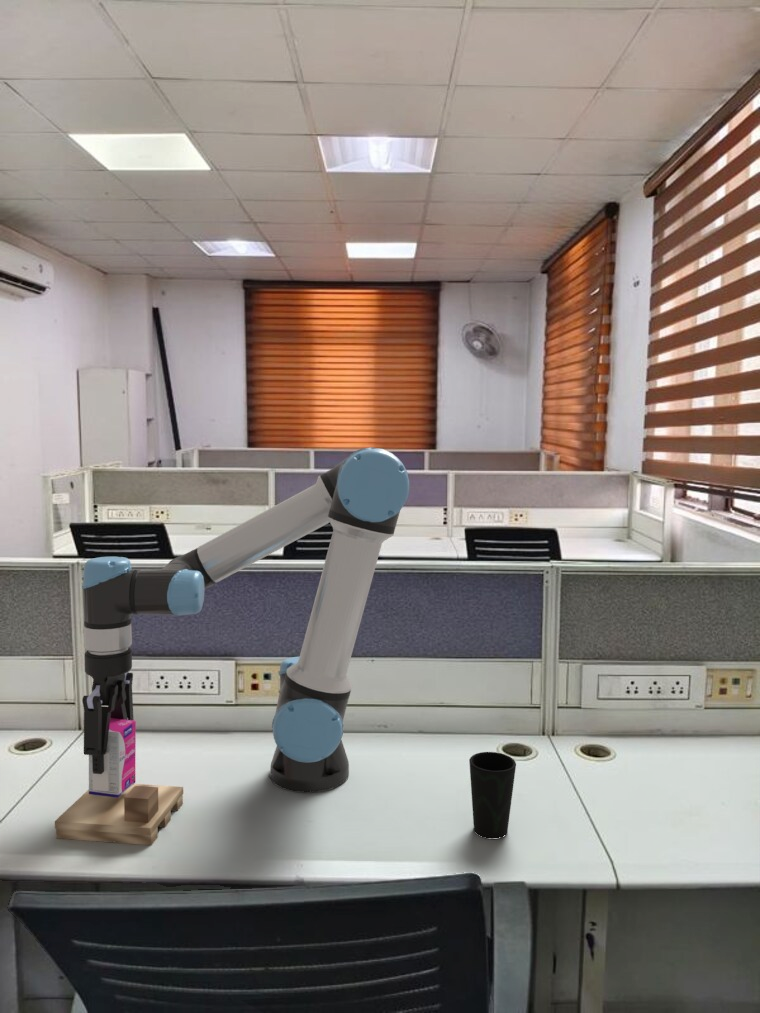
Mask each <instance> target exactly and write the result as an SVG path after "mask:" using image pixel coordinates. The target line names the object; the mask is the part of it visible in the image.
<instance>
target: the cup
mask: <svg viewBox="0 0 760 1013" xmlns="http://www.w3.org/2000/svg"><path fill="white" fill-rule="evenodd" d="M516 768H517V762H516V761H515V760H514V759H513V758H512V757H511V756H509V755H508V754H504V753H501V752H495V751H482V752H478V753H475V754H473V755H472V756H470V758H469V775H470V778H469V779H470V790H471V805H472V806H471V807H472V819H473V821H472V822H473V823H472V824H473V831H474V833H475V832H476V833H477V834H478V835H477V834H476V833H475V834H476V835H477V836H479V835H480V836H482V837H481V838H483V837H486V838H499V837H503V836H504V835H506V834H507V835H508V830H509V824H510V823H509V822H510V814H511V809H512V808H511V807H512V798H513V791H514V784H515V783H514V782H515V776H516ZM507 835H506V836H507ZM480 836H479V837H480ZM486 838H485V839H486ZM503 838H504V837H503Z"/></svg>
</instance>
